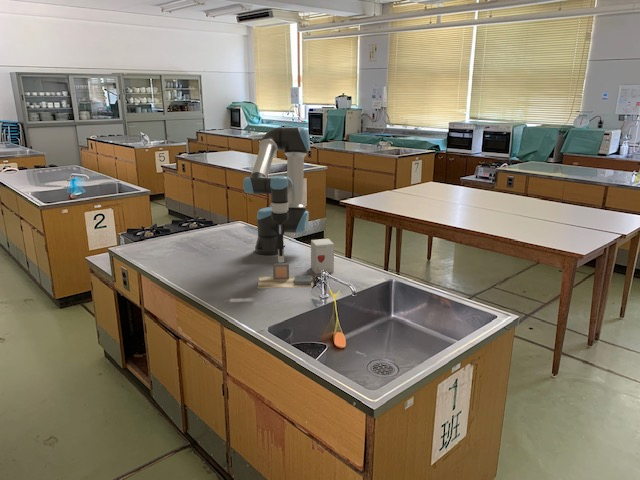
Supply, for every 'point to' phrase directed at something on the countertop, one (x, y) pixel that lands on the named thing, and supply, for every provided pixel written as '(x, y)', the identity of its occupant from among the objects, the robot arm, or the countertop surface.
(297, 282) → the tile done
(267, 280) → the board
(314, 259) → the supplement box
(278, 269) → the tile
